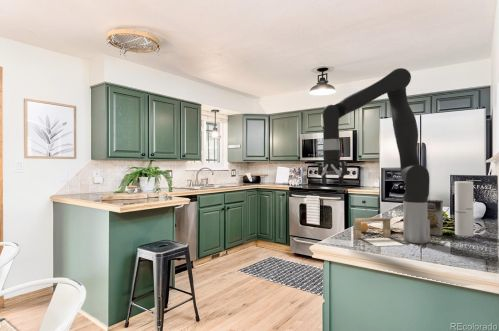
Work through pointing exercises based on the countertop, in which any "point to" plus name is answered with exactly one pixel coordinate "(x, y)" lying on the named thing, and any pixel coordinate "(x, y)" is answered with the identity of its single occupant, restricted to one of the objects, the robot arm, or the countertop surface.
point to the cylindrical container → (464, 208)
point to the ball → (364, 227)
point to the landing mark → (383, 242)
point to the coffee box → (435, 216)
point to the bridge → (358, 221)
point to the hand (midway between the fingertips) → (332, 184)
